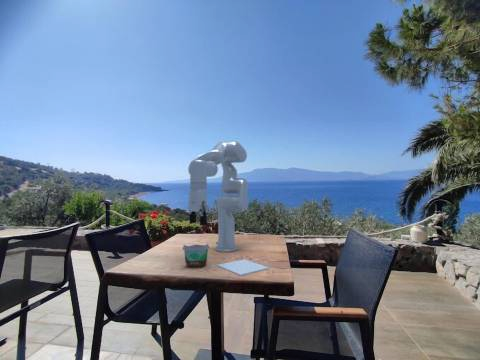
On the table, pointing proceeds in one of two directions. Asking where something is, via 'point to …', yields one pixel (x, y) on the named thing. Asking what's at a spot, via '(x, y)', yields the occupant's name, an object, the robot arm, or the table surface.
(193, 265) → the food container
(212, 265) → the table surface
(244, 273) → the mat
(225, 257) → the table surface
